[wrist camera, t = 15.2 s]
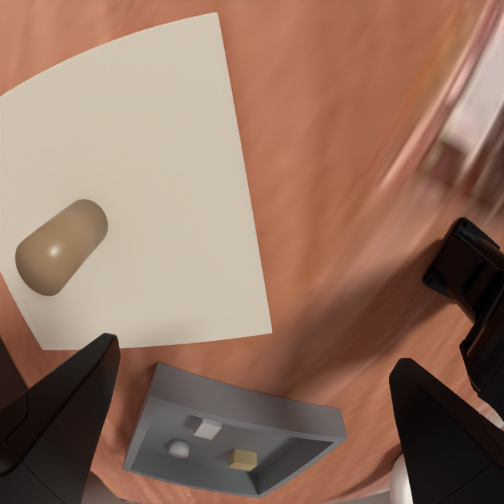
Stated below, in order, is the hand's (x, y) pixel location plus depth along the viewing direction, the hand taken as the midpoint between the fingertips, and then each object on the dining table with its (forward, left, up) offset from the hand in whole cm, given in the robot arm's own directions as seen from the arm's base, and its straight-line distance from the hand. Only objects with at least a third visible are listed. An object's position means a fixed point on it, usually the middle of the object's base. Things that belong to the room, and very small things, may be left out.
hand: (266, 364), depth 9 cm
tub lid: (+10, +4, -13) cm, 17 cm away
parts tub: (-8, +26, -13) cm, 30 cm away
